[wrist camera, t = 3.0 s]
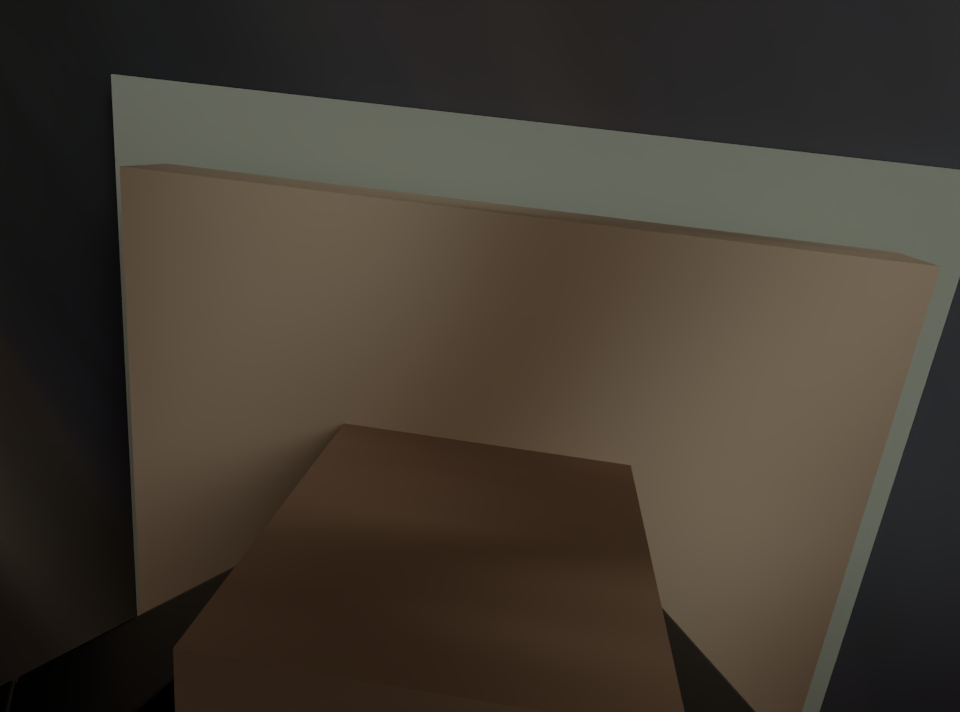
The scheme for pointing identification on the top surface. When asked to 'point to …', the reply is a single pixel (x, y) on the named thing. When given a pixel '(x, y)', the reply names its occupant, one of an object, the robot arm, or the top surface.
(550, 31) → the top surface
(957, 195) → the rubber mat
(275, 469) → the wooden lid
